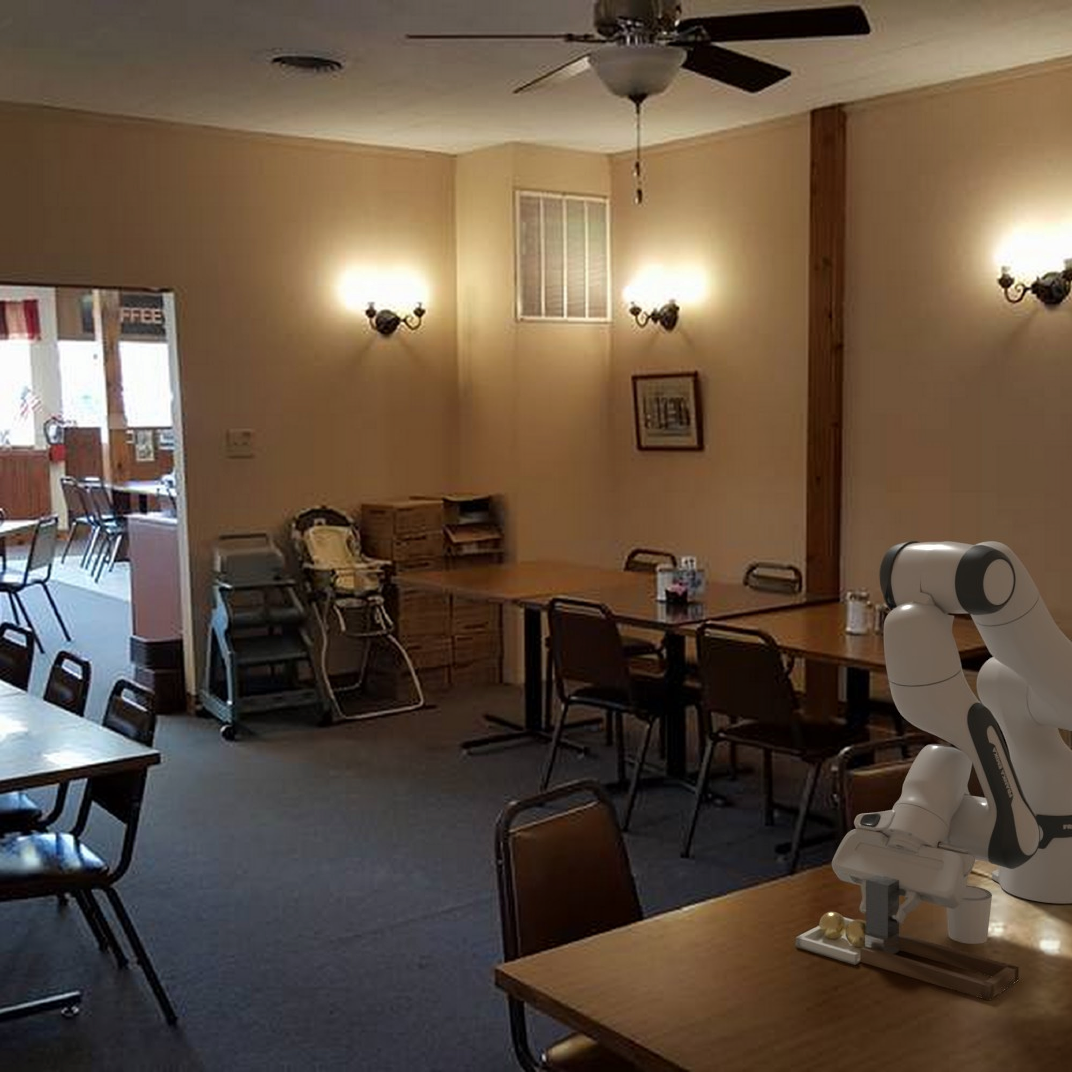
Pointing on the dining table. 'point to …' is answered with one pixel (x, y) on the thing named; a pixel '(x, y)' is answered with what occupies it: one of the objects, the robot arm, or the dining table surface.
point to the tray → (829, 945)
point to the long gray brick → (882, 914)
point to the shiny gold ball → (832, 925)
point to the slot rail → (987, 989)
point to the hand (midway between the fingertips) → (880, 916)
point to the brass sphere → (856, 933)
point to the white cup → (970, 917)
